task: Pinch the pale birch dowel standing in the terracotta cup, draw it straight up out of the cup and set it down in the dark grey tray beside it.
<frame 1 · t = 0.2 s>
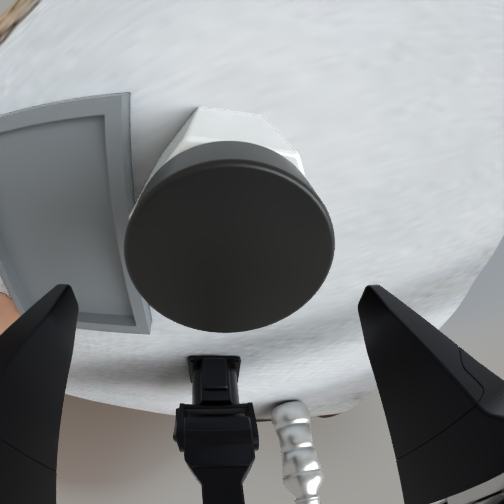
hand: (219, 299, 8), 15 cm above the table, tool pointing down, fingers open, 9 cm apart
jar: (222, 160, 21), on the table
tray: (55, 229, 22), on the table
cup: (6, 309, 27), on the table
plastic bottle: (288, 403, 46), on the table
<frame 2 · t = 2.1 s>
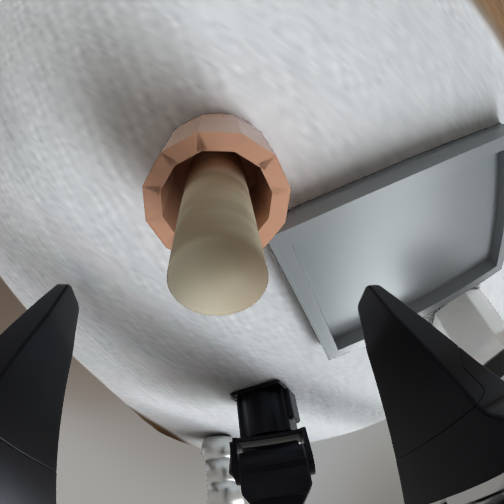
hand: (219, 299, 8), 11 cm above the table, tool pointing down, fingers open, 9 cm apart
jar: (454, 310, 30), on the table
pin: (216, 168, 16), resting on cup
tray: (417, 244, 22), on the table
cup: (216, 166, 17), on the table
plastic bottle: (219, 436, 44), on the table
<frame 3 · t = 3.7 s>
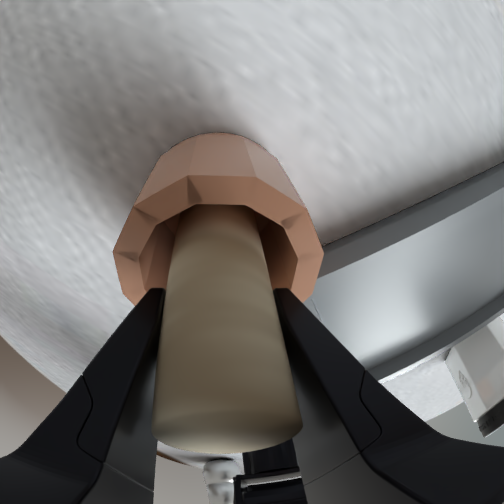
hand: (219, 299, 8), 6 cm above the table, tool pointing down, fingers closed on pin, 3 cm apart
jar: (471, 337, 26), on the table
pin: (216, 207, 13), resting on cup, touching gripper
tray: (446, 280, 18), on the table
cup: (216, 202, 13), on the table
plastic bottle: (221, 459, 40), on the table
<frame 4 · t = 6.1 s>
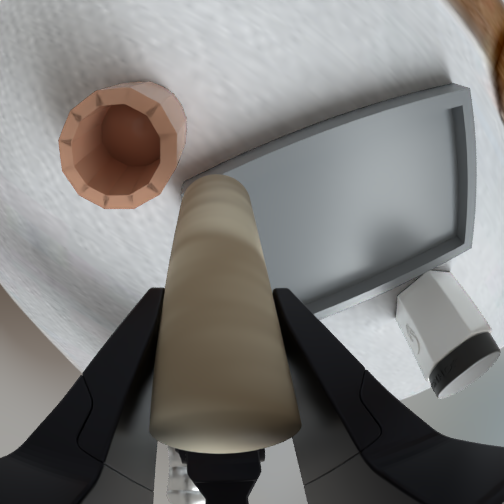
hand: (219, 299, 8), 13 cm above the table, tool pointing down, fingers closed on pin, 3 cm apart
jar: (422, 294, 30), on the table
pin: (216, 206, 12), point 7 cm above the table, touching gripper
tray: (362, 212, 22), on the table
cup: (138, 129, 16), on the table
plastic bottle: (184, 421, 44), on the table
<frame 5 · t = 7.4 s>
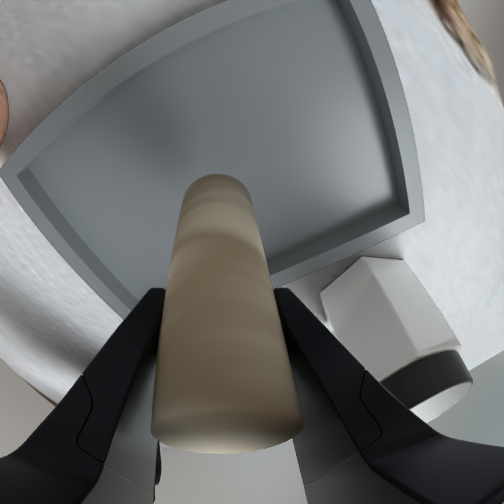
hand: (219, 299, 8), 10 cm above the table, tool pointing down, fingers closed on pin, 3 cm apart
jar: (364, 291, 24), on the table
pin: (216, 206, 12), point 4 cm above the table, touching gripper
tray: (217, 170, 16), on the table
when the fingers open (8 cm above the table, at t = 8.4 s): pin drops 1 cm, resting on tray.
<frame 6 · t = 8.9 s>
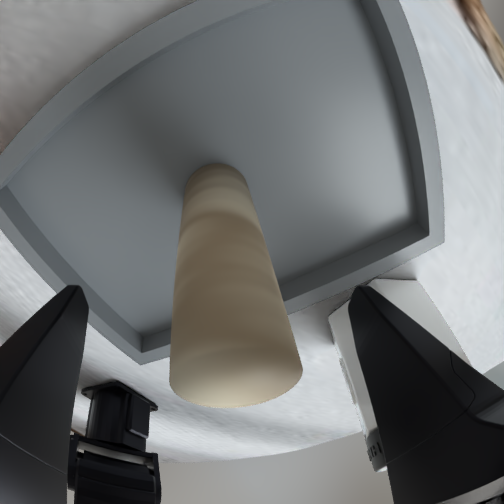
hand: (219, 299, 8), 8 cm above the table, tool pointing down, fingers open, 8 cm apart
jar: (374, 312, 22), on the table
pin: (216, 193, 14), point 1 cm above the table, touching tray
tray: (217, 188, 14), on the table
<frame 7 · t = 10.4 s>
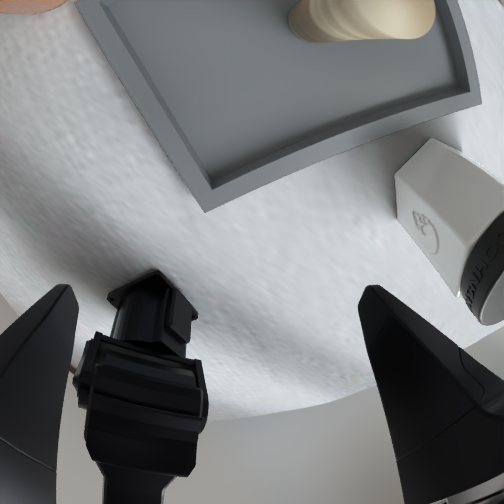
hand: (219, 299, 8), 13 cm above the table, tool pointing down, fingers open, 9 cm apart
jar: (430, 184, 21), on the table
pin: (312, 21, 12), point 1 cm above the table, touching tray
tray: (310, 23, 13), on the table
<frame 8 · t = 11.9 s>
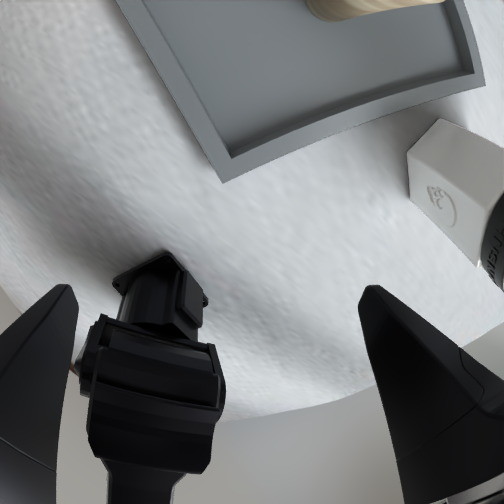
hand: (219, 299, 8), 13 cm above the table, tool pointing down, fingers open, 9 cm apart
jar: (440, 165, 20), on the table
pin: (328, 2, 12), point 1 cm above the table, touching tray
tray: (325, 4, 13), on the table
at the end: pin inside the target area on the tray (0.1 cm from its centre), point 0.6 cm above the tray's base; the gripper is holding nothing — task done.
